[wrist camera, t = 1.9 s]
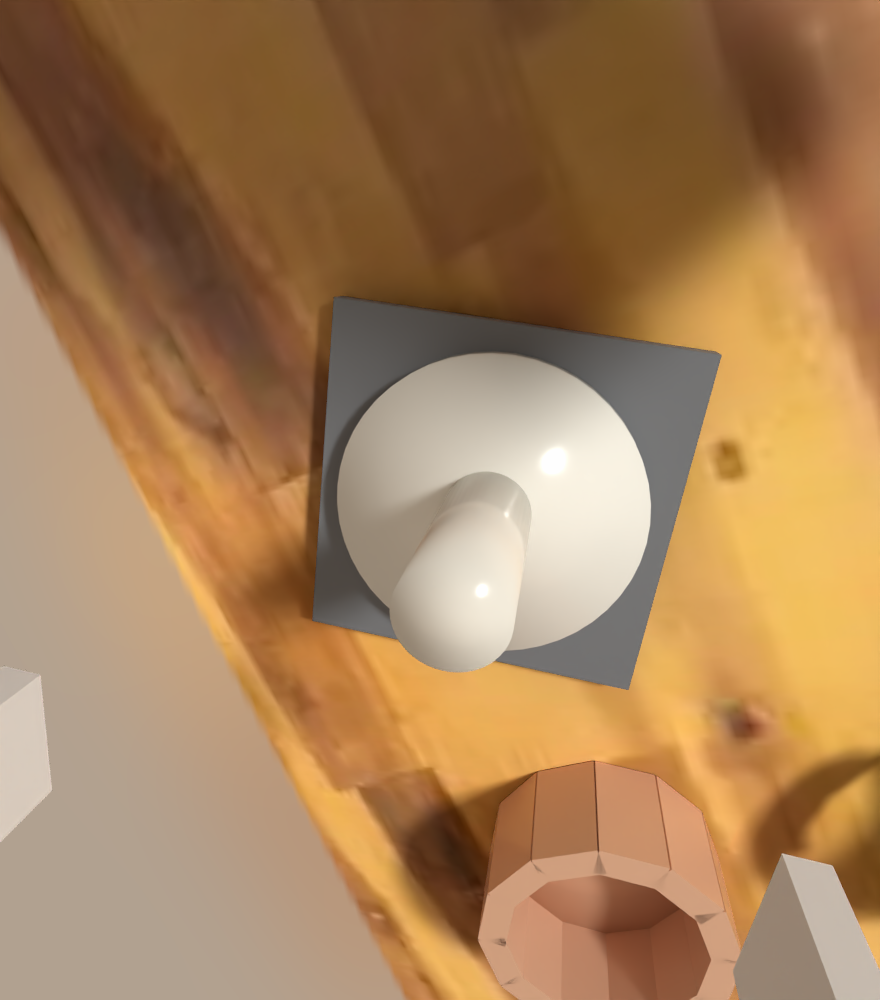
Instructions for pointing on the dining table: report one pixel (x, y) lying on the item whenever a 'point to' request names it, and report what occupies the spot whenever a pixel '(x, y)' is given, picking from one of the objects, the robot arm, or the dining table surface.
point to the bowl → (606, 891)
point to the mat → (592, 357)
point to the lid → (492, 506)
